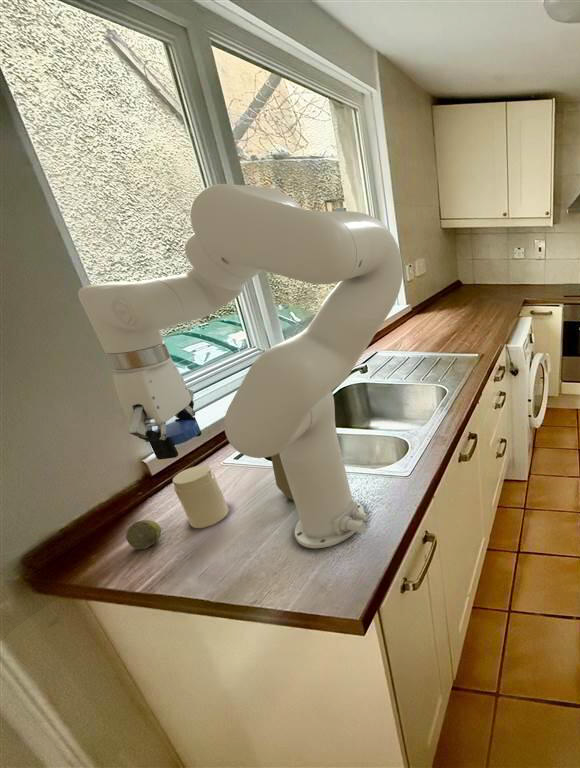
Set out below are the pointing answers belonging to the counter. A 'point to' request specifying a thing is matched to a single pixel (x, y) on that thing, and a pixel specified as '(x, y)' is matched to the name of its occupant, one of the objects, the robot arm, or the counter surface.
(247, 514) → the counter surface
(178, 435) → the lid
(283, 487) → the squeeze bottle
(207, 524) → the jar
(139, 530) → the lime
